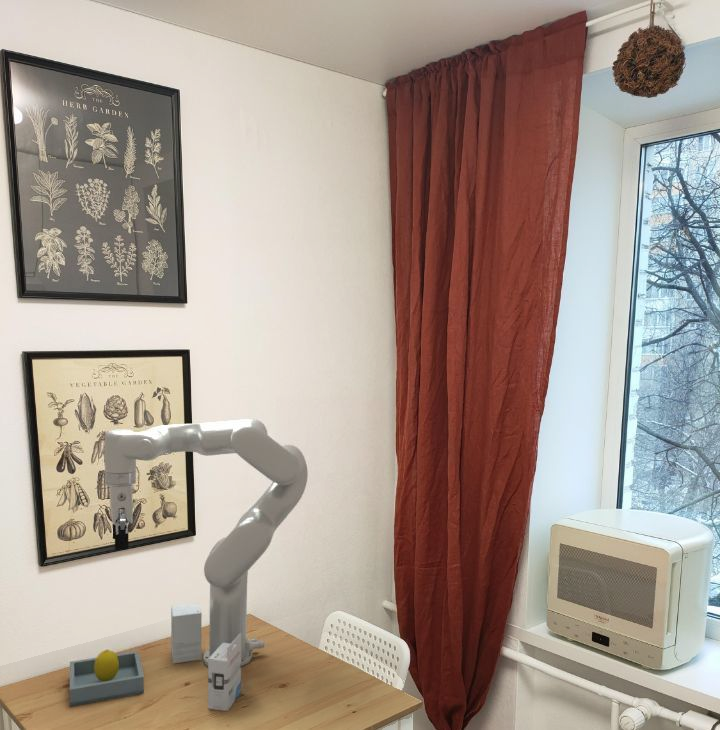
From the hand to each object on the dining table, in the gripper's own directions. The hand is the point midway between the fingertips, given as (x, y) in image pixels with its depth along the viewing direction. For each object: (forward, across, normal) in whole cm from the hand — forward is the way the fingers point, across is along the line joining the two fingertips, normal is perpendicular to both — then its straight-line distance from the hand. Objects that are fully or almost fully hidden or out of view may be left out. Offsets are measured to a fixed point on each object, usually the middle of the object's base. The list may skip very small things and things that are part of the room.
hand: (120, 543), depth 175 cm
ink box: (+31, -30, -21) cm, 48 cm away
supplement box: (+31, -4, -16) cm, 35 cm away
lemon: (+30, -13, +4) cm, 33 cm away
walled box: (+30, -13, +4) cm, 33 cm away
